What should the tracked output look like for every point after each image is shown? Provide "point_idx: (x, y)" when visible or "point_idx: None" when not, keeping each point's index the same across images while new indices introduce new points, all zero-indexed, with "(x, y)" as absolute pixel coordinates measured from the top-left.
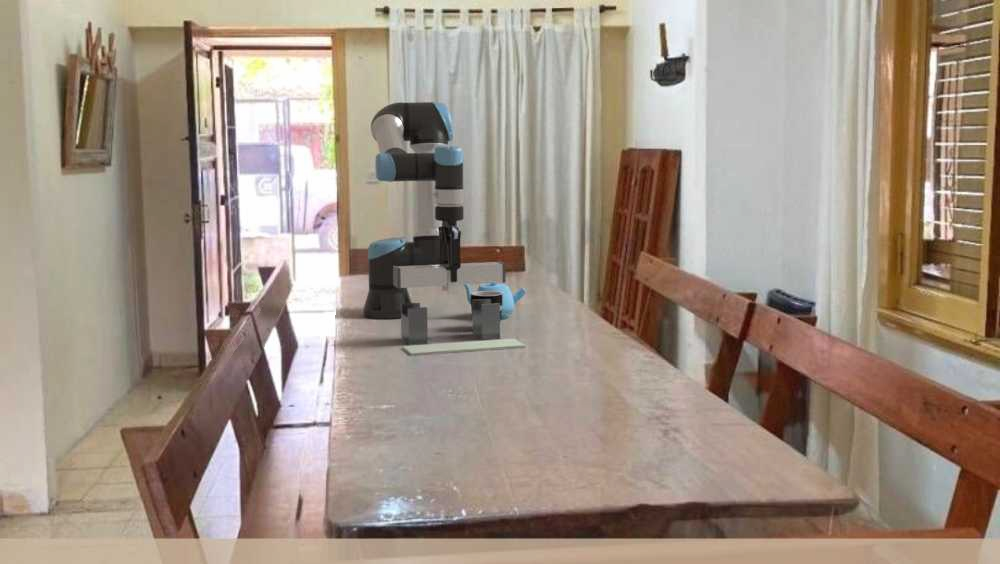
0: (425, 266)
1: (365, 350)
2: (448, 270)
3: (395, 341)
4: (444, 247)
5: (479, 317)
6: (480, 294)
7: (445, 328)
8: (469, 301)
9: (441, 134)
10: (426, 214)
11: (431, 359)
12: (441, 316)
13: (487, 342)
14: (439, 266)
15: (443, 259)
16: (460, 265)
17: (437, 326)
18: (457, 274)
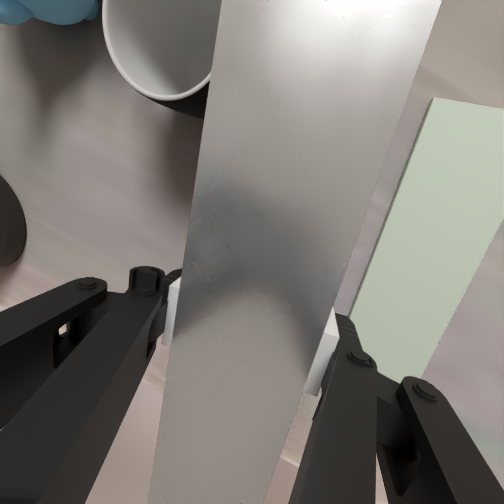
0: (209, 480)
1: (295, 429)
2: (316, 391)
3: None
4: (82, 499)
5: None
6: (115, 28)
7: (165, 183)
8: (15, 23)
9: None
10: None
11: (472, 394)
12: (22, 111)
13: (426, 201)
14: (252, 430)
15: (142, 374)
16: (449, 404)
17: (135, 187)
18: (334, 321)
